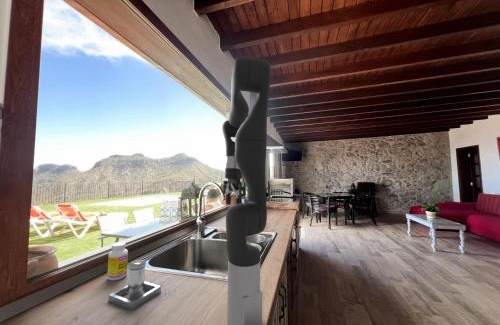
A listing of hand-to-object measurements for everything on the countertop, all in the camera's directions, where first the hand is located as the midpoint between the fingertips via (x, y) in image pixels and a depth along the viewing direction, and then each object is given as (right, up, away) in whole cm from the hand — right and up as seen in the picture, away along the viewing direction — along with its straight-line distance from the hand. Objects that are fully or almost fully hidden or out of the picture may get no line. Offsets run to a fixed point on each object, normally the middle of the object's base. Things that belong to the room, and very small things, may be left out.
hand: (233, 205), depth 89 cm
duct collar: (-32, -27, -18) cm, 45 cm away
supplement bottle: (-46, -28, -5) cm, 54 cm away
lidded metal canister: (-32, -27, -18) cm, 45 cm away
